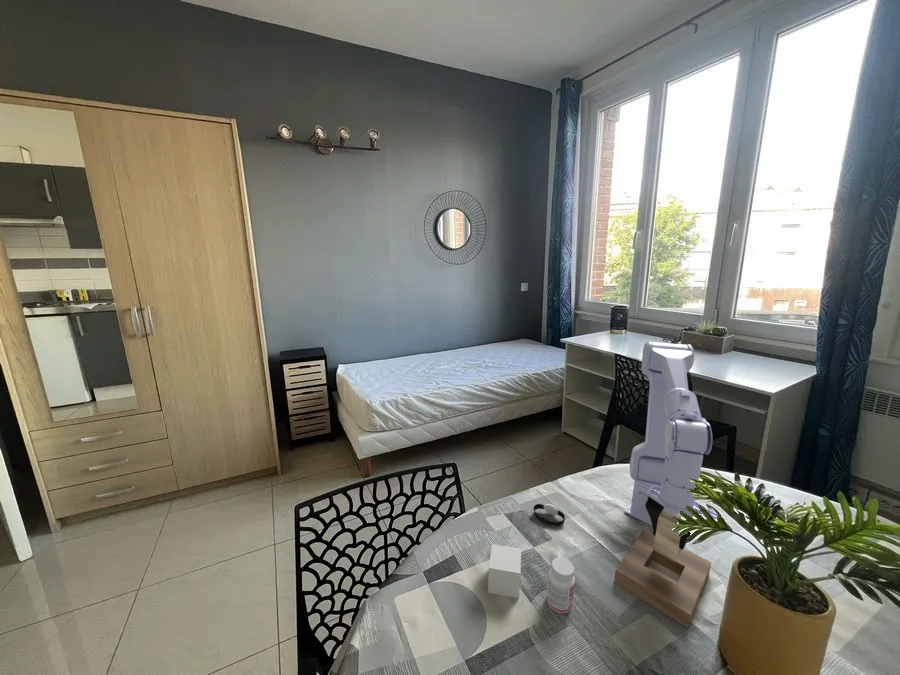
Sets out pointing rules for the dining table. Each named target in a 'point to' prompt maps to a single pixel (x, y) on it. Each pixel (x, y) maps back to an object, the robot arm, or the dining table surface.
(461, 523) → the dining table surface
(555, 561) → the pill bottle
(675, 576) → the socket block
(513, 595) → the white cube
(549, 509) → the watch
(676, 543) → the beech peg
